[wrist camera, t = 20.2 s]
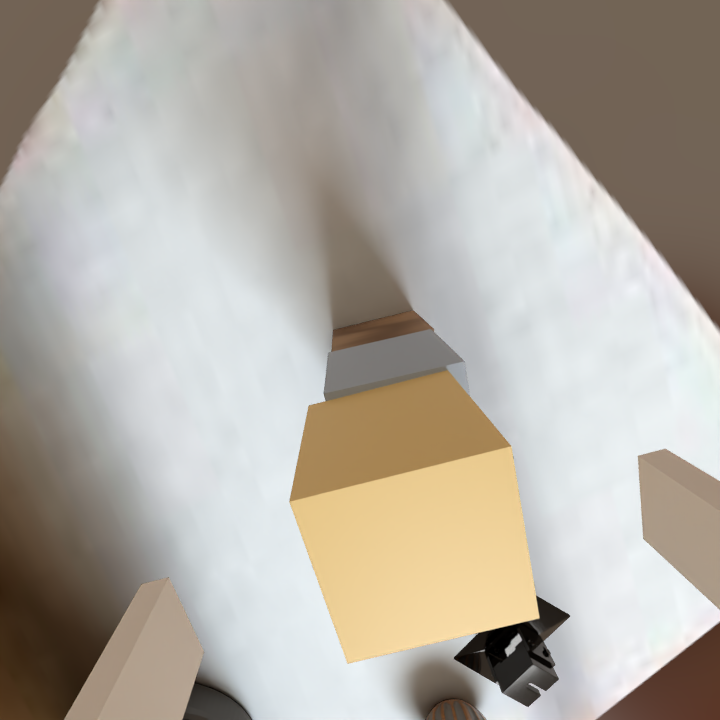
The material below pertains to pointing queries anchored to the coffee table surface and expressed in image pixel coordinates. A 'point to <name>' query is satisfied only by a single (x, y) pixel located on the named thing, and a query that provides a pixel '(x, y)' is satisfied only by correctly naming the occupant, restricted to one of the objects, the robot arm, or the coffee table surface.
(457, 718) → the vase
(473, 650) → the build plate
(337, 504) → the yellow cube
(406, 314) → the walnut brick
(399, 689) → the coffee table surface
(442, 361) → the gray brick
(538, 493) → the coffee table surface
